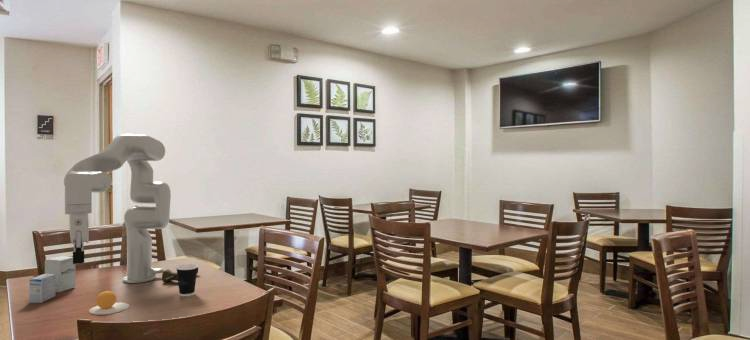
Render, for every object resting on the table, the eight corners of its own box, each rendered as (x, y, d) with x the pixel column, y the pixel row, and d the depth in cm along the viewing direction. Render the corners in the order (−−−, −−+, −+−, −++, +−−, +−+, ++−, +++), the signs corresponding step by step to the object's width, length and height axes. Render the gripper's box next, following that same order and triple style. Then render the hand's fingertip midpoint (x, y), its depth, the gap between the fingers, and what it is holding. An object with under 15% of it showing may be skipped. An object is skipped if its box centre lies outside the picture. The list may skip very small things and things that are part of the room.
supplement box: (59, 292, 173) (59, 260, 172) (44, 291, 174) (43, 259, 174) (76, 287, 180) (76, 256, 180) (60, 286, 181) (60, 255, 181)
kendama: (203, 276, 202) (176, 287, 182) (184, 275, 203) (155, 286, 184) (203, 263, 202) (176, 273, 182) (184, 262, 204) (155, 272, 184)
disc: (127, 301, 164) (127, 300, 164) (130, 310, 154) (130, 310, 154) (88, 306, 157) (88, 306, 157) (89, 317, 147) (89, 316, 147)
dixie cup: (197, 290, 178) (197, 263, 178) (198, 296, 171) (198, 267, 170) (175, 293, 174) (175, 265, 174) (176, 299, 167) (176, 269, 167)
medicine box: (43, 296, 168) (43, 273, 168) (55, 296, 168) (55, 273, 168) (29, 303, 160) (28, 279, 160) (42, 303, 161) (42, 279, 160)
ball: (90, 299, 155) (100, 313, 156) (95, 296, 151) (105, 310, 152) (107, 289, 160) (116, 303, 160) (112, 285, 156) (121, 299, 156)
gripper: (92, 210, 146) (92, 266, 146) (91, 206, 158) (91, 257, 158) (64, 212, 141) (64, 269, 142) (65, 207, 154) (65, 260, 154)
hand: (78, 263), depth 150 cm, fingers closed
